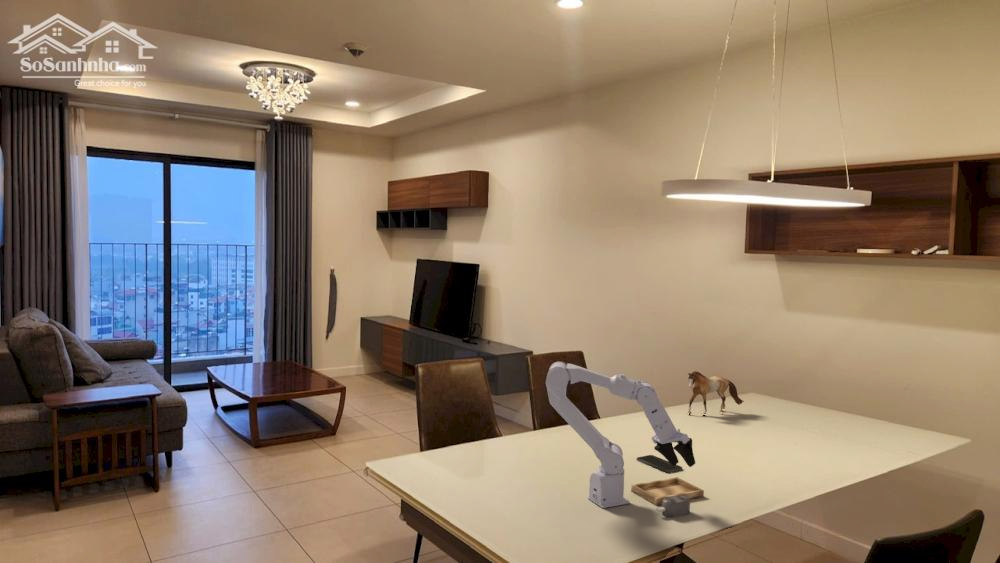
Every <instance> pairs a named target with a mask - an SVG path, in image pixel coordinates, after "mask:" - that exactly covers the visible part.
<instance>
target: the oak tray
mask: <svg viewBox="0 0 1000 563" xmlns="http://www.w3.org/2000/svg"><path fill="white" fill-rule="evenodd" d="M704 491H705V490H704V489H701V488H700V487H697V486H695V485H694V484H692V483H689V482H688V481H685V480H683V479H681V478H679V477H671V478H664V479H660V480H659V479H658V480H654V481H647V482H640V483H635V484H631V492H632V493H634V494H635V495H637V496H638V497H640V498H642V499H643V500H646V501H648V502H649V503H651V504H652V505H654V506H657V507H658V506H662V502H663V499H664V498H669V497H675V496H687V497H689V498H690V500H695V499H701V498H704V494H705V493H704Z"/></svg>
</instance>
